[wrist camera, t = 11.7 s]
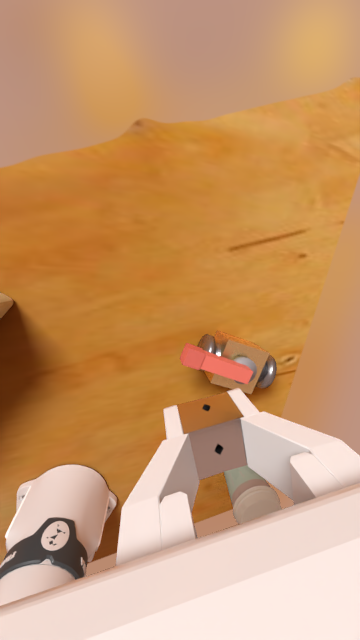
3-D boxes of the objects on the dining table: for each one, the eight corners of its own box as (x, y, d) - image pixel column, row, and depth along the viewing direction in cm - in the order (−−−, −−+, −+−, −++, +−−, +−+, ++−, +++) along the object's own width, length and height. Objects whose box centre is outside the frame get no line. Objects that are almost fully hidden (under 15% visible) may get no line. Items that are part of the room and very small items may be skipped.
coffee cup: (212, 475, 48) (233, 539, 36) (218, 442, 46) (242, 498, 35) (248, 474, 49) (279, 535, 38) (255, 441, 48) (289, 495, 36)
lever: (257, 361, 37) (269, 370, 33) (246, 383, 37) (257, 395, 34) (187, 335, 34) (192, 342, 30) (176, 360, 34) (180, 370, 31)
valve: (248, 381, 44) (264, 399, 38) (190, 364, 42) (197, 380, 35) (263, 346, 43) (283, 358, 37) (205, 326, 41) (215, 335, 34)
